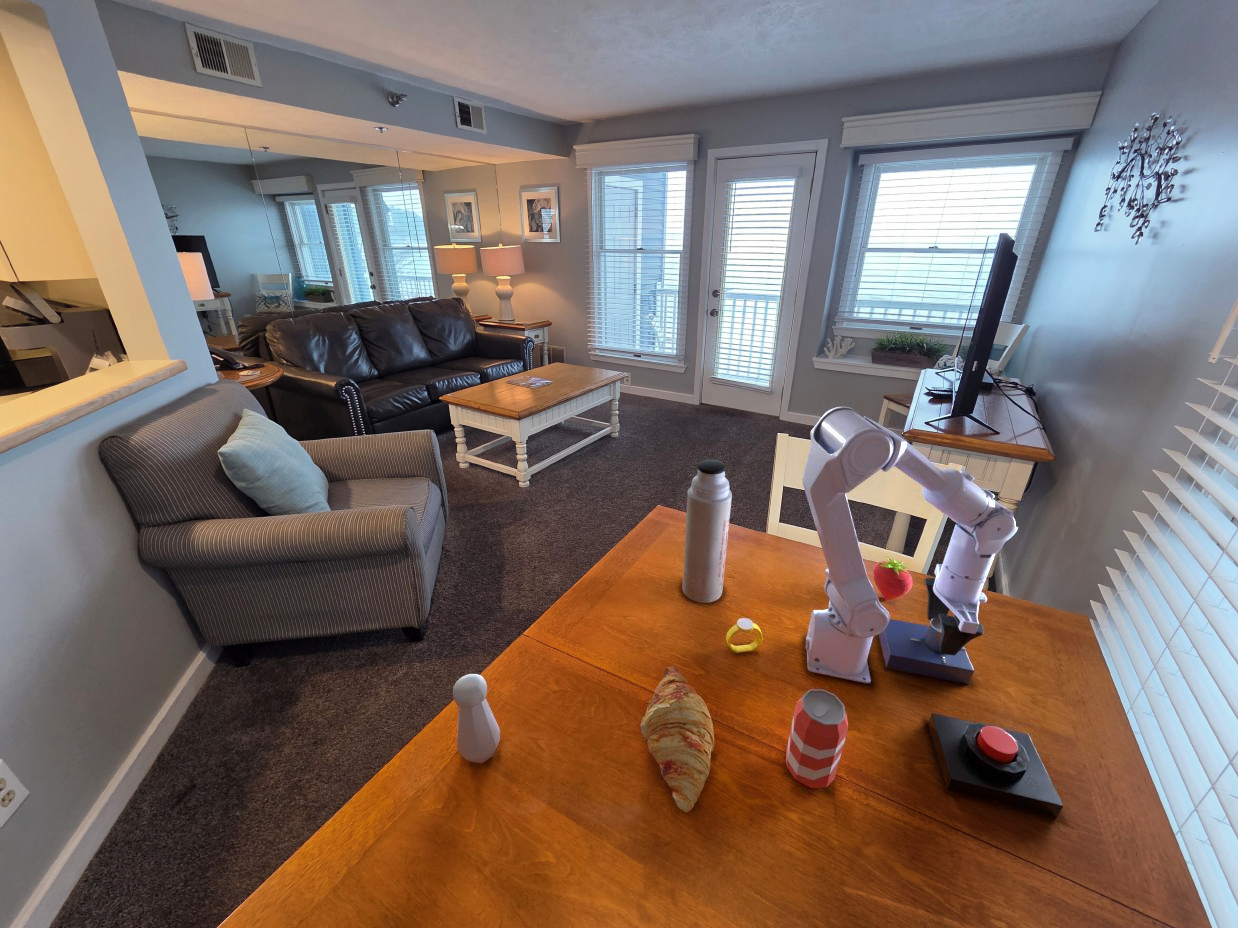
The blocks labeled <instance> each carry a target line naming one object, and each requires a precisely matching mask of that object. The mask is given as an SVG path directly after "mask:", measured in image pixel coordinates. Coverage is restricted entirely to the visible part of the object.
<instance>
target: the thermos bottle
mask: <svg viewBox="0 0 1238 928" xmlns="http://www.w3.org/2000/svg"><path fill="white" fill-rule="evenodd" d="M696 467H697V475H695V476H693V478H692V481H691V484H690V485H691V486H690V487H689V488H688V489H687V498H686V499H687V500H686V516H685V517H686V518H685V533H684V534H685V535H684V558H683V566H682V567H683V568H682V584H681V585H682V586H681V587H682V592H683V594H684V595H685V596H686V597H687V598H688V599H690V600H692V601H694V602H697V603H701V604H702V603H703V604H705V603H713V602H715V601H717V600H719V599H720V598H721V596H722V595H723V588H724V580H725V579H724V578H725V577H724V576H725V568H726V559H727V558H726V557H727V549H728V548H727V547H728V538H729V528H730V527H729V526H730V519H731V510H732V509H731V508H732V507H731V506H732V497H733V495H732V491H731V490H730V488H731V487H730V482H729V480H728V479H727V478H726V464H725V463H724V462H722V461H720V460H718V459H703V460H701V461H699V462H698V463H697V466H696Z"/></svg>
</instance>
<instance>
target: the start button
mask: <svg viewBox="0 0 1238 928" xmlns="http://www.w3.org/2000/svg"><path fill="white" fill-rule="evenodd" d="M996 727H997V726H996ZM996 727H992V726H986V727H984V728H982V729H981V732H980V734H979V736H978V739H977V743H978V746H979V748H980V749H981V750H982V751H983V752H984V753H985V754H986V755H987V756H989V757H991V758H992V759H994V760H996V761H998V762H1002V763H1008V762H1011V761H1012V760H1013V759H1014V757H1015V755H1016V753H1017V751H1018V746H1017V743H1016V741H1015V740H1014V739H1013V738H1012V737H1011V736H1010V735H1009V734H1008V733H1006V732H1005V731H1003V730H1001V729H999V728H1000V727H998V728H996Z"/></svg>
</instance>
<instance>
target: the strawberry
mask: <svg viewBox="0 0 1238 928" xmlns="http://www.w3.org/2000/svg"><path fill="white" fill-rule="evenodd" d="M892 558H893V560H892V559H891V558H889V557H886V560H883V561H879V562H877V563H876V564H875V565H874V567H873V569H872V576H873V581H874V583H875V586H876V588H877V589H878V591H879V592H880V594H881V596H882V598H883V599H884V600H886V601H890V600H894V599H898V598H900V597H902V596H905V595H907V594H908V592H910V590H911V589H912V588H913V578H912V575H911V574H910V573H909V571H908V569H910V568H909V567H908V566H904V565H902V564H903V563H904V561H897V560H895V557H894V556H892Z"/></svg>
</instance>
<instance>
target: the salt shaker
mask: <svg viewBox="0 0 1238 928" xmlns="http://www.w3.org/2000/svg"><path fill="white" fill-rule="evenodd" d="M487 695H488V684H487V681H486V679H485V678H484V677H483V675H480V674H478V673H469V674H466V675H463V676H461V677H460V678H459V679H458V680H456V682H455V683H454V685H453V687H452V699H453V701H454V703H455V705H456V706H457V707H458V718H457V738H456V748H457V750H458V752H459V754H460V755H461V757H462V758H463V759H465V760H466V761H468V762H470V763H475V764H480V765H481V764H483V763H485V762H486V761H488V760H490V758H493V756H494V755H495V752H496V750H497V748H498V745H499V743H500V741H501V730H500V729H501V728H500V727H499V725H498V723H497V720H496V718H495V715H494V713H493V710H492V709H491V707H490V705H489V703H488V702H489V701H488V699H487V698H486V697H487Z"/></svg>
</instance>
